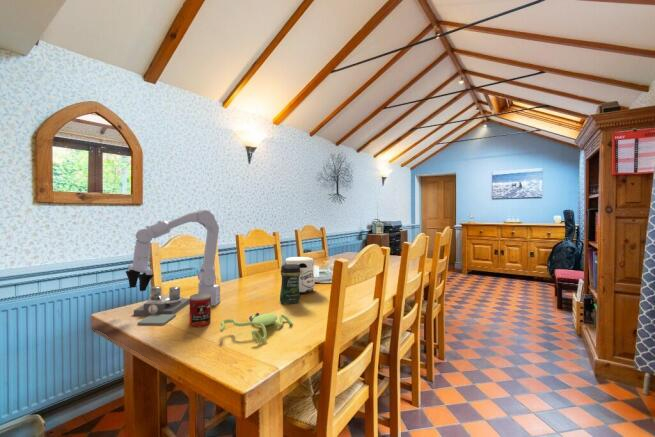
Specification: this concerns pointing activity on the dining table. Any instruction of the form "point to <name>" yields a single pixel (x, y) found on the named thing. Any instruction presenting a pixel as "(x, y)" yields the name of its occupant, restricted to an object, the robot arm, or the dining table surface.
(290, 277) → the coffee jar
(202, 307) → the canned food
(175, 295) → the block
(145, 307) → the scale housing
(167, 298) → the scale pan
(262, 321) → the figurine
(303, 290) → the milk container
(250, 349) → the dining table surface
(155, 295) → the steel weight
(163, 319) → the rubber mat
